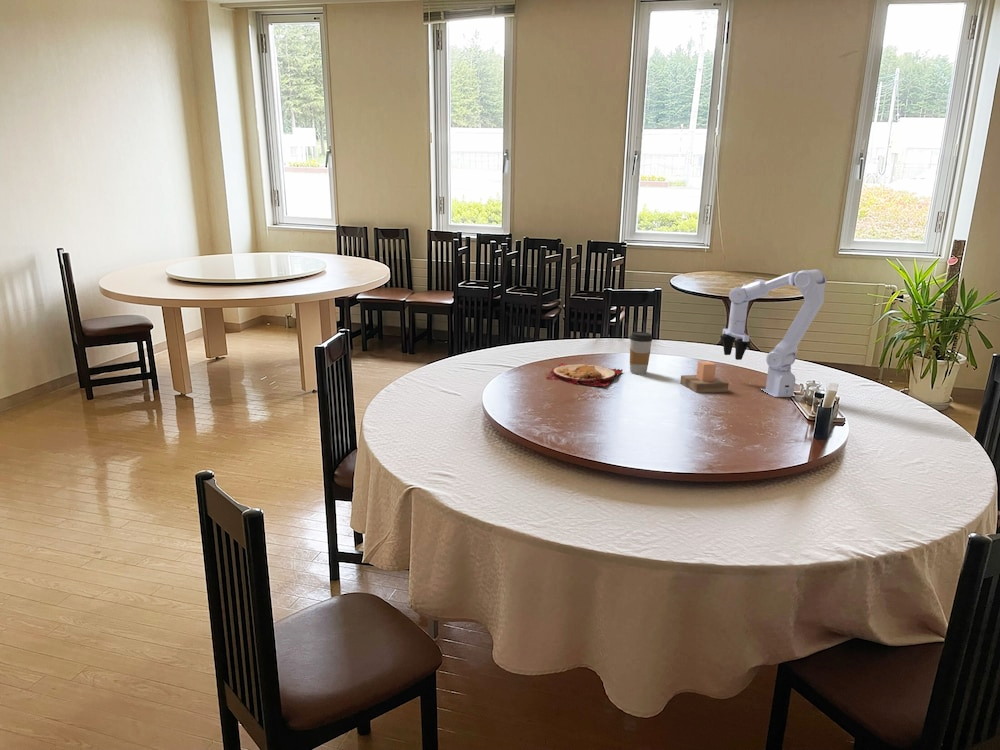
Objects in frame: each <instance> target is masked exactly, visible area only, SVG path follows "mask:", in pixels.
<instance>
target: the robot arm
mask: <svg viewBox="0 0 1000 750" xmlns="http://www.w3.org/2000/svg"><path fill="white" fill-rule="evenodd" d="M827 281H828V280H827V279H826V276H825V274H824V272H823V271H822V270H820V269H818V268H814V269H810V270H809V269H808V270H805V269H803V270H800V271H794V272H789V273H786V274H783V275H780V276H778V277H775V278H772V279H770V280H768V281H766V280H765V279H760V278H757V279H755V280H754V281H753V282H750V283H744V284H742V286H735V287H732V289H731V290H730V291H729V293H728V299H729V300H730V302H731V303H730V309H729V318H728V327H727V328H722V335H721V334H720V337H719V338H720V339H721V342H722V347H723V354H724V355H725V356H730V355H731V354H732V351H733V347H735V348H734V349H735V353H734V355H735V356H734V357H735V360H736V361H738V360H740V361H741V360H742V359H743V357H744V355H745V352H746V350H747V349H748V347H749V346H750V344H751V341H750V336H749V335H748V334H747V333H745V331H746V330H745V329H746V321H747V314H748V313H747V312H748V306H749V302H750V301H752V300H756V299H759V298H762V297H765V296H767V295H769V293H770V291H771V290H775V289H778V288H782V287H786V286H792V287H796V288H797V290H798V291H799V293H801V295H802V296H803V299H804V302H803V304H802V305H801V308H800V309H799V311H798V312H797V314H796V316H795V317H794V319H793V321H792V323H791V325H790V326H789V328H788V329H787V331H786V333H785V334H784V336H783V338H782V339H781V341H780V342H779V343H777V345H776V346H774V348H773V349H772V350H771V351H770V352H768V354H767V355H766V358H765V361H766V364H767V365H768V369H767V376H766V383H765V388H760V389H761V390H763V391H764V392H763V391H762V392H763V393H765V392H766V393H765V394H767V393H768V395H770V396H771V397H774V398H792V397H791V396H792V395H794V392H795V385H796V377H795V374H793V372H792V371H791V370H792V365H793V364H794V363H795V361H796V358H797V357H796V356H797V353H798V351H799V348H798V345H799V344H800V343H801V341H802V339H803V337H804V336H805V334H806V332H807V331H808V330H809V327H810V326H811V324H812V322H813V321H814V320H815V317H816V316H817V315H818V313H819V311H820V310H821V308H822V306H823V304H824V302H825V293H826V292H825V291H826V284H827ZM761 390H760V391H761Z"/></svg>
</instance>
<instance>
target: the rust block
mask: <svg viewBox="0 0 1000 750" xmlns="http://www.w3.org/2000/svg"><path fill="white" fill-rule="evenodd" d="M716 367H717V364H716V363H715V362H712V361H706V360H705V361H704V360H703V361H702V360H701V361H700V360H699V361H697V369H696V375H697V376H696V378H697V379H699V380H701V381H714V377H716V376H715V375H716Z"/></svg>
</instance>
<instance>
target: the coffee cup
mask: <svg viewBox="0 0 1000 750" xmlns="http://www.w3.org/2000/svg"><path fill="white" fill-rule="evenodd" d="M629 340H630V342H629V343H630V344H629V345H630V348H629V371H630V373H631V374H634V375H645V374H647V372H648V366H649V361H650V356H651V348H652V347H651V346H652V342H653V336H652V333H650V332H645V331H634V332H631V335H630V337H629Z"/></svg>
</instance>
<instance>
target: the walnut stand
mask: <svg viewBox="0 0 1000 750" xmlns="http://www.w3.org/2000/svg"><path fill="white" fill-rule="evenodd" d="M696 376H697V374H695V375H694V374H693V375H692V374H691V375H685V374H683V375H682V374H681V375H680V384H681V385H682V386H684V387H685V388H688V389H689V390H691V391H693V392H694V393H728V392H729V386H730V385H729V383H728V382H726V381H724V380H723V379H721V378H718V377H716V376H715V377H714V381H701V380H699V379H697V378H696Z"/></svg>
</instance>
